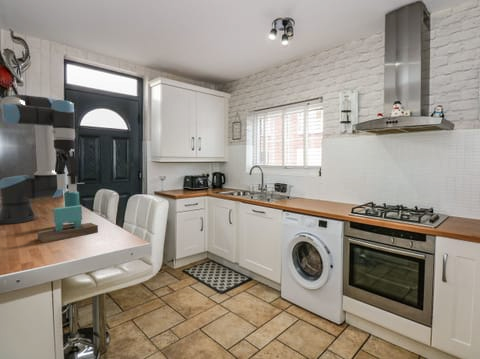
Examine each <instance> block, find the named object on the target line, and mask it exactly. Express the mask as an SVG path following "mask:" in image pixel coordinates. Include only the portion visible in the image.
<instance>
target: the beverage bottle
mask: <svg viewBox="0 0 480 359" xmlns="http://www.w3.org/2000/svg"><path fill="white" fill-rule="evenodd" d="M65 189H67V190H66V191H65V192H64V193H63V194H64V207H69V206H78V205H79V206H81V205H80V204H81V203H80V192H79V191H78V190H77V192H72V193H69V190H68V183H67V184H66V186H65ZM72 223H74V221H73V222H67V224H72Z"/></svg>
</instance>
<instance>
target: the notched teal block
mask: <svg viewBox="0 0 480 359" xmlns="http://www.w3.org/2000/svg"><path fill="white" fill-rule="evenodd" d="M82 210H83V209H82V205H80V206H79V205H78V206H69V207H65V206H63V207H62V206H61V207H53V222H54V223H53V224H54V225H55V228H54V229H56V232H59V231H63V227H64V226H63V224H65V223H67V222H73V221H74V225H73V226H75V229H76V228H81V224H82V220H83V211H82ZM67 224H68V223H67Z"/></svg>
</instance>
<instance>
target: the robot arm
mask: <svg viewBox="0 0 480 359" xmlns="http://www.w3.org/2000/svg"><path fill="white" fill-rule="evenodd" d="M0 109H1V117H2V121H3V122H4V123H5V124H6V123H7V124H15V125H16V124H19V125H34V133H35V149H36V150H35V151H36V153H35V154H36V171H35V172H34V173H33V177H30V175H28V174H24V175H23V174H22V175H14V176H9V177H3V178H2V179H0V202H1V203H0V204H1V207H0V208H1V209H0V224H1V225H3V224H4V225H5V224H6V225H7V224H8V225H9V224H10V225H11V224H18V223H19V224H20V223H27V222H31V221H34V220H36V217H37V216H36V213H35V211H34V209H33V207H32V203H31V200H38V199H52V198H59V197H61V196H62V195H63V191H64V190H65V189H66V177H65V176H67V184H68V189H67V191H69V193H72V192H77V191H78V190H77V189H78V187H77V184H78V183H77V177H78V175H79V170H78V165H77V160H76V156H75V151H74V150H75V149H76V140H74V139H76V130H75V129H76V127H75V108H74V103H73V102H71V101H70V100H65V99H64V100H63V99H54V98H50V97H44V96H35V95H26V94H11V95H7V96H5V97H3V98H1V100H0ZM56 150H57V151H56ZM65 169H66V171H67V174H66V172H65Z"/></svg>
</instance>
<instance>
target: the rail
mask: <svg viewBox="0 0 480 359" xmlns="http://www.w3.org/2000/svg"><path fill="white" fill-rule="evenodd" d="M36 233H37V240H39V241H40V242H42V243H43V244H45V243H46V244H47V243H49V242H55V241H60V240H64V239H71V238H76V237H82V236H86V235H90V234H96V233H99V225H98V224H96V223H95V224H94V223H93V222H87V223H81V228H76V229H75V226H74V225H70V226H69V225H68V226H63V231H59V232H56V229H55V228H50V229H46V230H45V229H44V230H39V231H37V232H36Z"/></svg>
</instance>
